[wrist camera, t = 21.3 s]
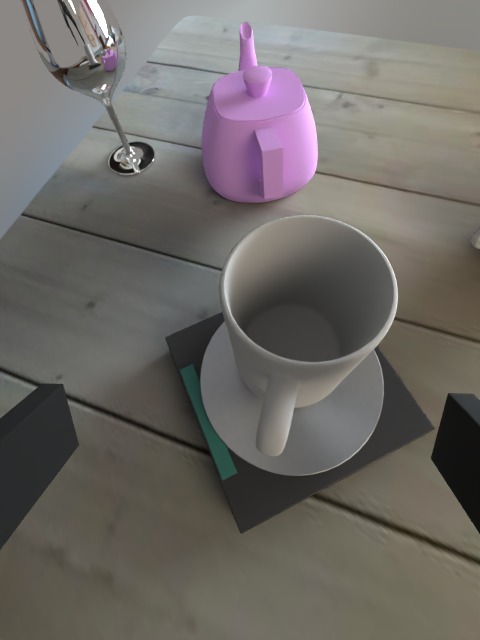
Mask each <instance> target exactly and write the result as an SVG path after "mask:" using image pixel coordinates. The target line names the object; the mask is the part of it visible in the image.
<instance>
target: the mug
mask: <svg viewBox="0 0 480 640" xmlns="http://www.w3.org/2000/svg"><path fill="white" fill-rule="evenodd" d="M219 288H220V302H221V307H222V312H223V316H224V319H225V323H226V327H227V330H228V334H229V338H230V341H231V345H232V349H233V352H234V356H235V362H236V366H237V369H238V372H239V374H240V376H241V378H242V380H243V381H244V383H245V384H246V386H247V387H248V388H249V389H250V390H251V391H252V392H253V393H254V394H255V395H256V396H258V397H259V398H261V399H262V400H264V401H263V406H262V410H261V415H260V419H259V424H258V429H257V434H256V447H257V449H258V450H259V451H260V452H261V453H263V454H265V455H268V456H278V455H280V454H281V453H282V451H283V449H284V447H285V444H286V441H287V438H288V434H289V430H290V425H291V421H292V416H293V411H294V408H299V407H304V406H309V405H311V404H314V403H316V402H318V401H320V400H322V399H323V398H325V397H326V396H328V395H329V394H330V393H331V392H332V391H333V390H334V389H335V388H336V387H337V385H338V384H339V383H340V382H341V381H342V380H343V379H344V378H345V377H346V376H347V375H348V374H349V373H350V372H351V371H352V370H353V369H354V368H355V367H356V366H357V365H358V364H359V363H360V362H361V361H362V360H363V359H364V358H365V357H366V356H367V355H368V354H369V353H370V352H371V351H372V350H373V349H374V348H375V347H376V346H377V345H378V344H379V343H380V342H381V340H382V339H383V338H384V336H385V335H386V334H387V332H388V330H389V328H390V326H391V325H392V323H393V320H394V317H395V314H396V309H397V303H398V288H397V281H396V278H395V274H394V271H393V269H392V267H391V265H390V262H389V261H388V259H387V258H386V256H385V254H384V253H383V252H382V250H381V249H380V248H379V247H378V246H377V245H376V244H375V243H374V242H373V241H372V240H371V239H370V238H369V237H367V236H366V235H365V234H363V233H362V232H361V231H359V230H357V229H355V228H354V227H352V226H350V225H348V224H345V223H343V222H341V221H338V220H334V219H331V218H327V217H322V216H313V215H296V216H288V217H283V218H279V219H276V220H272V221H270V222H267V223H265V224H263V225H261V226H259V227H257V228H255V229H254V230H252V231H251V232H249V233H248V234H247V235H245V236H244V237H243V238H242V239H241V240H240V241H239V242H238V243H237V244H236V246H235V247H234V248H233V249H232V251H231V252H230V254H229V256H228V257H227V259H226V262H225V264H224V266H223V270H222V273H221V278H220V286H219Z"/></svg>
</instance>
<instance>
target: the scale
mask: <svg viewBox="0 0 480 640" xmlns="http://www.w3.org/2000/svg"><path fill="white" fill-rule="evenodd" d="M224 321H225V319H224V316H223V312H222V313H219V314H217V315H215V316H212V317H210V318H208V319H206V320H203V321H201V322H199V323H197V324H194V325H192V326H190V327H188V328H185V329H183V330H181V331H179V332H176V333H174V334H172V335H170V336H167V337H166V341H167V344H168V346H169V349H170V351H171V354H172V357H173V359H174V362H175V364H176V367H177V370H178V372H179V375H180V377H181V380H182V383H183V385H184V388H185V390H186V393H187V396H188V398H189V401H190V403H191V406H192V409H193V411H194V414H195V416H196V419H197V422H198V424H199V427H200V429H201V432H202V435H203V437H204V440H205V442H206V445H207V448H208V450H209V453H210V455H211V458H212V461H213V463H214V466H215V468H216V471H217V474H218V476H219V479H220V481H221V484H222V487H223V489H224V492H225V494H226V497H227V500H228V502H229V505H230V507H231V510H232V513H233V515H234V518H235V520H236V523H237V526H238V528H239V531H240V533H244V532H245V531H247V530H249V529H251V528H253V527H255V526H257V525H258V524H260V523H262V522H264V521H266V520H268V519H269V518H271V517H273V516H275V515H277V514H279V513H281V512H282V511H284V510H286V509H288V508H290V507H292V506H294V505H295V504H297V503H299V502H301V501H303V500H305V499H307V498H308V497H310V496H312V495H314V494H316V493H318V492H319V491H321V490H323V489H325V488H327V487H329V486H331V485H332V484H334V483H336V482H338V481H340V480H342V479H344V478H345V477H347V476H349V475H351V474H353V473H355V472H357V471H358V470H360V469H362V468H364V467H366V466H368V465H369V464H371V463H373V462H375V461H377V460H379V459H381V458H382V457H384V456H386V455H388V454H390V453H392V452H394V451H395V450H397V449H399V448H401V447H403V446H405V445H407V444H408V443H410V442H412V441H414V440H416V439H418V438H419V437H421V436H423V435H425V434H427V433H429V432H431V431H432V430H434V429H435V427H434V426H433V425H432V423H431V422H430V420H429V419H428V417H427V416H426V415H425V413H424V412H423V410H422V409H421V407H420V406H419V405H418V403H417V402H416V400H415V399H414V397H413V396H412V395H411V393H410V392H409V390H408V389H407V387H406V386H405V385H404V383H403V382H402V380H401V379H400V377H399V376H398V375H397V373H396V372H395V370H394V369H393V367H392V366H391V365H390V363H389V362H388V360H387V359H386V357H385V356H384V355H383V353H382V352H381V350H380V349H379V347H378V346H376V347H375V348H374V350H375V353H376V355H377V357H378V360H379V363H380V366H381V370H382V375H383V382H384V397H383V406H382V410H381V414H380V418H379V420H378V423H377V425H376V427H375V430H374V431H373V433H372V435H371V436H370V438H369V439H368V441H367V442H366V443H365V444H364V446H363V447H362V448H361V449H360V450H359V451H358V452H357V453H356V454H355V455H354V456H352V457H351V458H350V459H349V460H347V461H345V462H344V463H342V464H341V465H339V466H337V467H335V468H332V469H330V470H328V471H325V472H321V473H317V474H313V475H304V476H287V475H281V474H276V473H272V472H269V471H266V470H263V469H260V468H258V467H256V466H254V465H252V464H250V463H248V462H246V461H245V460H243V459H242V458H240V457H239V456H237V455H236V454H235V453H234V452H233V451H232V450H231V449H230V448H228V447H227V445H226V444H225V443H224V442H223V441H222V440H221V439H220V437H219V436H218V434H217V433H216V431H215V430H214V428H213V427H212V425H211V423H210V421H209V419H208V417H207V414H206V411H205V408H204V405H203V401H202V396H201V387H200V375H201V366H202V362H203V357H204V354H205V351H206V349H207V346H208V344H209V342H210V340H211V338H212V337H213V335H214V334H215V332H216V331H217V329H218V328H219V327H220V326H221V325H222V323H223V322H224Z"/></svg>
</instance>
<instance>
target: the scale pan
mask: <svg viewBox="0 0 480 640" xmlns="http://www.w3.org/2000/svg"><path fill="white" fill-rule="evenodd" d="M200 387H201V396H202V401H203V405H204V408H205V411H206V414H207V417H208V419H209V421H210V423H211V425H212V427H213V428H214V430H215V431H216V433H217V434H218V436H219V437H220V439H221V440H222V441H223V442H224V443H225V444H226V445H227V447H228V448H230V449H231V450H232V451H233V452H234V453H235V454H236V455H237V456H239V457H240V458H242V459H243V460H245V461H246V462H248V463H250V464H252V465H254V466H256V467H258V468H260V469H263V470H266V471H269V472H272V473H276V474H281V475H287V476H304V475H313V474H317V473H321V472H325V471H328V470H330V469H332V468H335V467H337V466H339V465H341V464H342V463H344V462H345V461H347V460H349V459H350V458H351V457H352V456H354V455H355V454H356V453H357V452H358V451H359V450H360V449H361V448H362V447H363V446H364V444H365V443H366V442H367V441H368V439H369V438H370V436H371V435H372V433H373V431H374V430H375V427H376V425H377V423H378V420H379V418H380V414H381V410H382V406H383V397H384V382H383V375H382V370H381V366H380V363H379V360H378V357H377V355H376V353H375V350H374V349H373V350H372V351H371V352H370V353H369V354H368V355H367V356H366V357H365V358H364V359H363V360H362V361H361V362H360V363H359V364H358V365H357V366H356V367H355V368H354V369H353V370H352V371H351V372H350V373H349V374H348V375H347V376H346V377H345V378H344V379H343V380H342V381H341V382H340V383H339V384H338V385H337V387H336V388H335V389H334V390H333V391H332V392H331V393H330V394H329V395H328V396H326V397H325V398H323V399H322V400H320V401H318V402H316V403H314V404H311V405H309V406H304V407H299V408H294V411H293V416H292V421H291V425H290V430H289V434H288V438H287V441H286V444H285V447H284V449H283V451H282V453H281V454H280V455H278V456H268V455H265V454H263V453H261V452H260V451H259V450H258V449H257V447H256V434H257V429H258V424H259V419H260V415H261V410H262V406H263V401H264V400H262V399H261V398H259V397H258V396H256V395H255V394H254V393H253V392H252V391H251V390H250V389H249V388H248V387H247V386H246V384H245V383H244V381H243V380H242V378H241V376H240V374H239V372H238V369H237V366H236V362H235V356H234V352H233V349H232V345H231V341H230V338H229V334H228V330H227V327H226V323H225V321H224V322H223V323H222V325H221V326H220V327H219V328H218V329H217V331H216V332H215V334H214V335H213V337H212V338H211V340H210V342H209V344H208V346H207V349H206V351H205V354H204V357H203V362H202V366H201V375H200Z"/></svg>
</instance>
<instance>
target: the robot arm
mask: <svg viewBox="0 0 480 640" xmlns="http://www.w3.org/2000/svg"><path fill="white" fill-rule="evenodd" d="M78 445H79V443H78V440H77V436H76V432H75V428H74V424H73V421H72V417H71V413H70V409H69V405H68V402H67V398H66V394H65V390H64V386H63V384H41V385H40V386H39V387H38V388H37V389H35V390H34V391H33V392H32V393H31V394H29V395H28V396H27V397H26V398H25V399H23V400H22V401H21V402H20V403H19V404H17V405H16V406H15V407H14V408H13V409H11V410H10V411H9V412H8V413H6V414H5V415H4V416H3V417H2V418H0V549H1V548H2V547H3V545H4V544H5V543H6V541H7V540H8V539H9V537H10V536H11V535H12V533H13V532H14V531H15V529H16V528H17V527H18V525H19V524H20V523H21V521H22V520H23V519H24V517H25V516H26V515H27V513H28V512H29V511H30V509H31V508H32V507H33V505H34V504H35V503H36V501H37V500H38V499H39V497H40V496H41V495H42V493H43V492H44V491H45V489H46V488H47V487H48V485H49V484H50V483H51V481H52V480H53V479H54V477H55V476H56V475H57V473H58V472H59V471H60V469H61V468H62V467H63V465H64V464H65V463H66V461H67V460H68V459H69V457H70V456H71V455H72V453H73V452H74V451H75V449H76V448H77V447H78ZM431 459H432V461H433V463H434V464H435V466H436V467H437V469H438V470H439V472H440V473H441V475H442V476H443V478H444V479H445V481H446V483H447V484H448V486H449V487H450V489H451V490H452V492H453V493H454V495H455V496H456V498H457V499H458V501H459V503H460V504H461V506H462V507H463V509H464V510H465V512H466V513H467V515H468V516H469V518H470V519H471V521H472V523H473V524H474V526H475V527H476V529H477V530H478V532H479V533H480V400H479V399H478V398H477V397H476V396H475V395H474V394H457V393H448V396H447V400H446V404H445V407H444V411H443V415H442V419H441V422H440V426H439V430H438V434H437V437H436V441H435V445H434V449H433V452H432V456H431Z"/></svg>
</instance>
